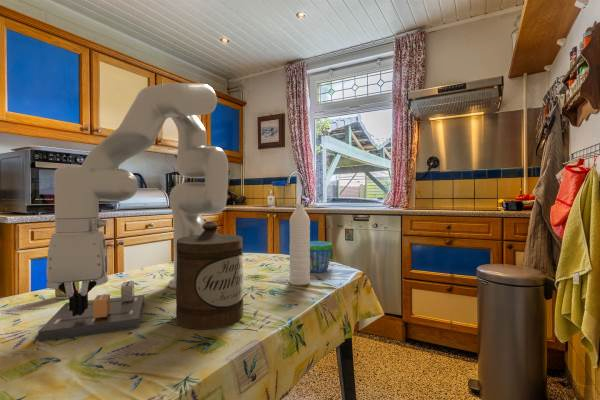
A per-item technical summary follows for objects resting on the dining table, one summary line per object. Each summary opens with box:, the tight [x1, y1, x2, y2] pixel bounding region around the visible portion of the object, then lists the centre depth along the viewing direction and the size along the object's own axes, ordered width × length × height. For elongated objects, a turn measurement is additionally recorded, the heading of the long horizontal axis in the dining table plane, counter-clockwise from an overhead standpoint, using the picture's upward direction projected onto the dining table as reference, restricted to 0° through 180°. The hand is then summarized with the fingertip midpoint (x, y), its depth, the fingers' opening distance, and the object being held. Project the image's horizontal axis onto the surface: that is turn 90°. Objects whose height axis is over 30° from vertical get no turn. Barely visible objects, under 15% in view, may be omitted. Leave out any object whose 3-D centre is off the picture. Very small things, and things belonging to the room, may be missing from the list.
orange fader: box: [93, 293, 111, 318], centre depth 69 cm, size 2×4×4 cm, turn 22°
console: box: [38, 294, 145, 343], centre depth 72 cm, size 17×17×2 cm
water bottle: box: [289, 203, 317, 286], centre depth 101 cm, size 9×6×25 cm
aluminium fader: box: [120, 280, 135, 301], centre depth 79 cm, size 2×4×4 cm, turn 22°
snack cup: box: [310, 240, 335, 274], centre depth 117 cm, size 16×10×10 cm
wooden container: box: [175, 221, 244, 330], centre depth 74 cm, size 15×15×22 cm
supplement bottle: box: [54, 281, 80, 300], centre depth 88 cm, size 5×5×10 cm
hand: (78, 313), depth 67 cm, fingers closed
